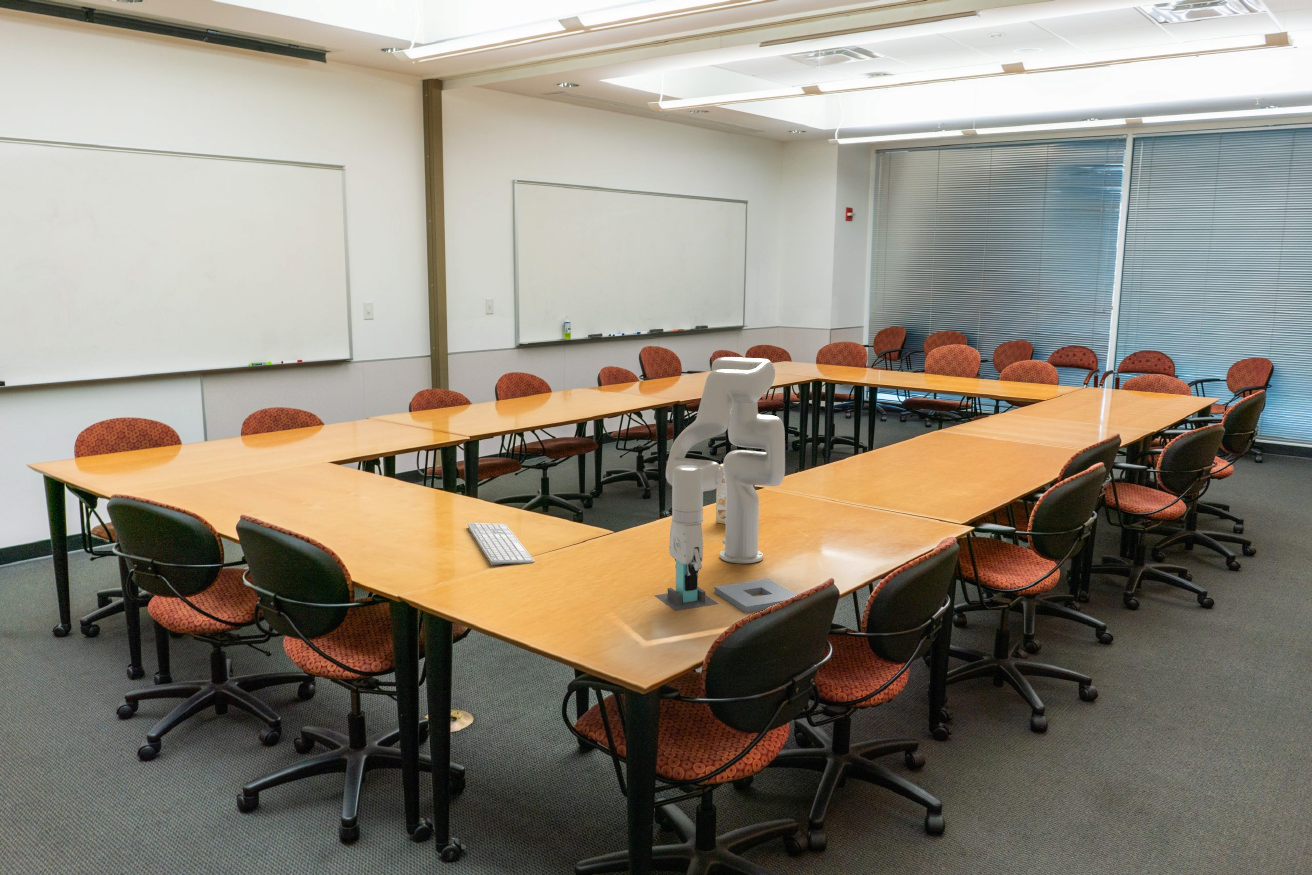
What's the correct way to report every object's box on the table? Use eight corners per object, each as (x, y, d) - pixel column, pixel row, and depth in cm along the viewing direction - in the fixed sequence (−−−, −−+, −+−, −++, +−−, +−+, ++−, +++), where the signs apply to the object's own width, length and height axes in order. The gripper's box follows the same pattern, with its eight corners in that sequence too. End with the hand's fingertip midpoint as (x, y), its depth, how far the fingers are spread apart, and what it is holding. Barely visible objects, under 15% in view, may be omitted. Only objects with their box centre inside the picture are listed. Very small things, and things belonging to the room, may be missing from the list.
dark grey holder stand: (654, 599, 233) (654, 585, 232) (696, 592, 238) (696, 579, 237) (675, 614, 222) (675, 600, 222) (718, 607, 227) (719, 594, 227)
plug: (675, 597, 231) (676, 559, 229) (690, 595, 233) (690, 557, 231) (682, 602, 227) (683, 563, 226) (697, 600, 229) (697, 561, 227)
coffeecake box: (733, 525, 304) (735, 467, 300) (714, 522, 307) (715, 465, 304) (753, 516, 316) (755, 460, 313) (735, 513, 320) (736, 458, 316)
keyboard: (535, 564, 263) (535, 556, 262) (491, 568, 258) (491, 560, 258) (505, 525, 303) (505, 518, 303) (467, 529, 299) (467, 522, 299)
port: (714, 595, 236) (714, 586, 235) (767, 587, 242) (768, 578, 242) (746, 616, 221) (746, 606, 221) (802, 607, 228) (802, 597, 228)
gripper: (659, 509, 232) (658, 579, 235) (689, 525, 217) (688, 599, 221) (685, 506, 235) (685, 575, 239) (717, 522, 220) (716, 595, 224)
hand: (686, 586), depth 229 cm, fingers closed on plug, 4 cm apart
